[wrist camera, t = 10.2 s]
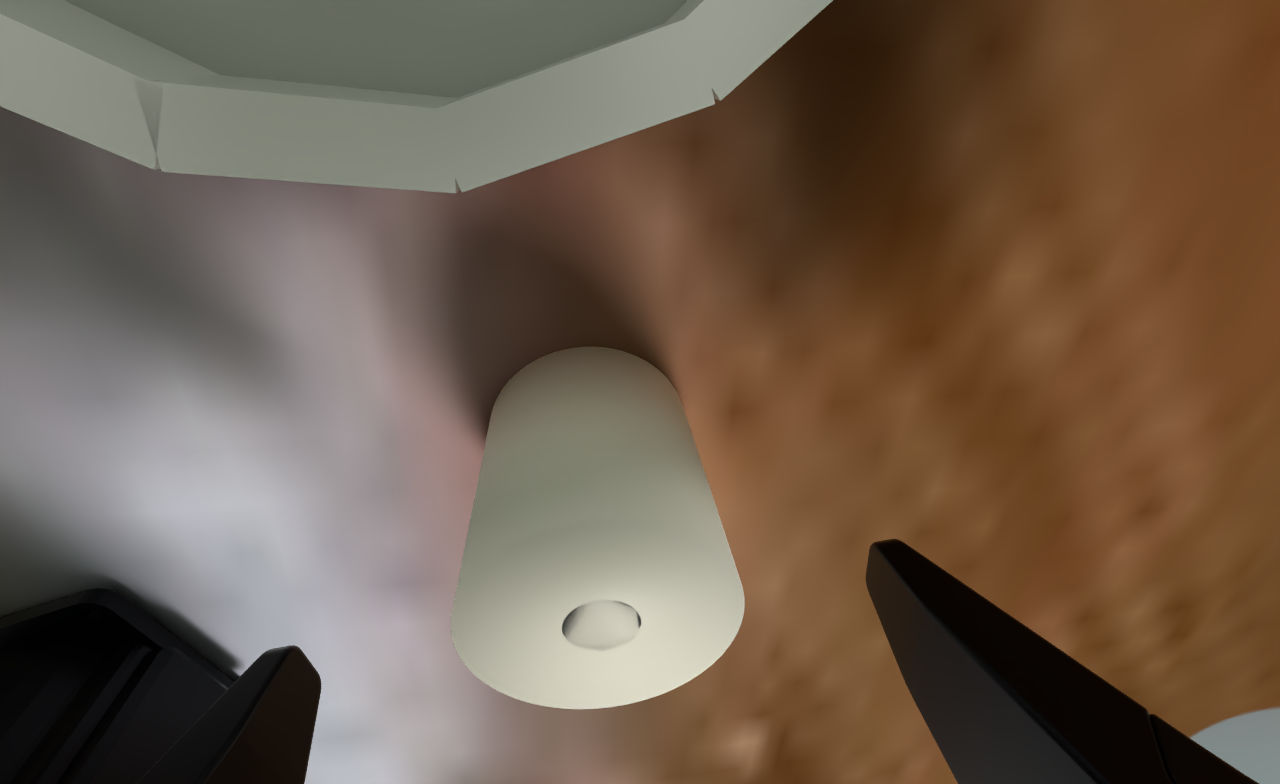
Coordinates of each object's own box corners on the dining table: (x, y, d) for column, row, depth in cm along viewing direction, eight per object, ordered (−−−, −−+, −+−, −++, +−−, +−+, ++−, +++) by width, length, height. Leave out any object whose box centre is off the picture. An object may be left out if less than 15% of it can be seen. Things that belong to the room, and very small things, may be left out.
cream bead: (535, 526, 14) (523, 734, 10) (453, 385, 12) (391, 576, 7) (704, 474, 14) (766, 665, 10) (655, 319, 11) (708, 478, 7)
